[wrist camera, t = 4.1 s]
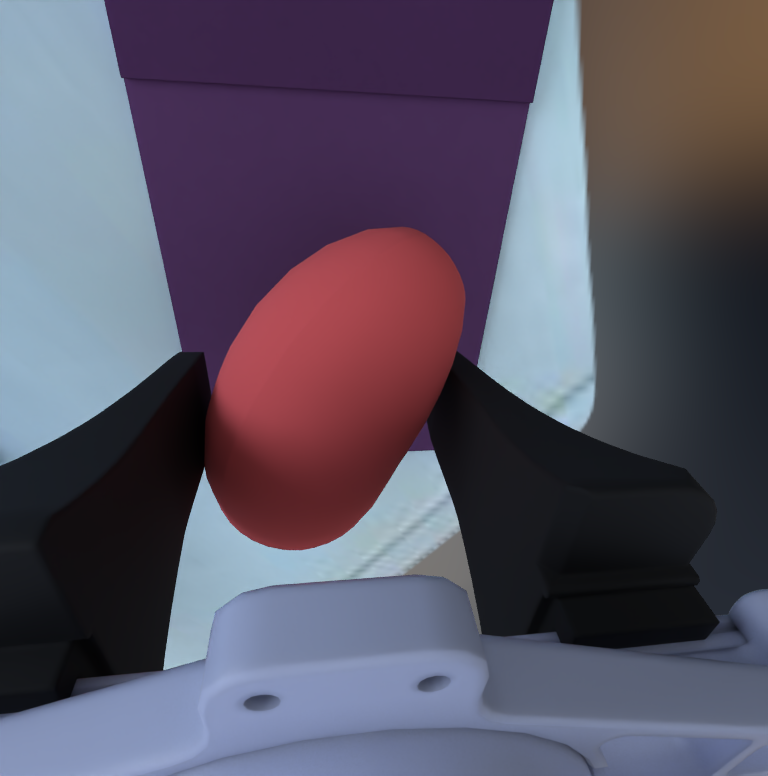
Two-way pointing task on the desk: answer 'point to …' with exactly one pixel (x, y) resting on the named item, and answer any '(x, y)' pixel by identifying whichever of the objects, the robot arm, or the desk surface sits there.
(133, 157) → the desk surface
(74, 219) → the desk surface
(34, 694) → the robot arm
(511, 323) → the desk surface
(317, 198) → the cloth
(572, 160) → the desk surface
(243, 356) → the red oval piece
